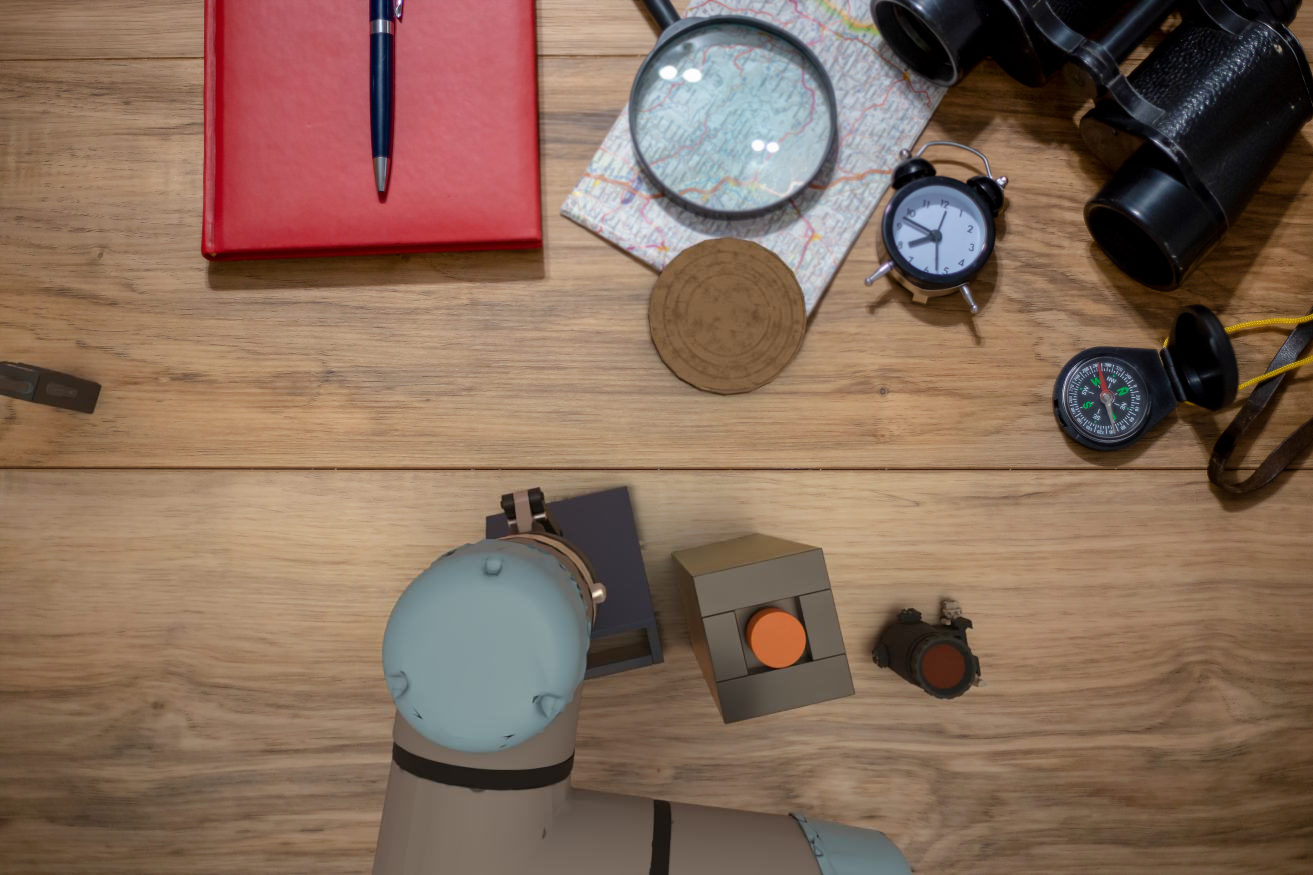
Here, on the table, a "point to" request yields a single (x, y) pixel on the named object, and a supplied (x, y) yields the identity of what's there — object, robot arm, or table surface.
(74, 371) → the table surface
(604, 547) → the lid
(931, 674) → the red dot sight
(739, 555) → the button post
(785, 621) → the button
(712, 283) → the brown round disc
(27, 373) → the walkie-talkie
